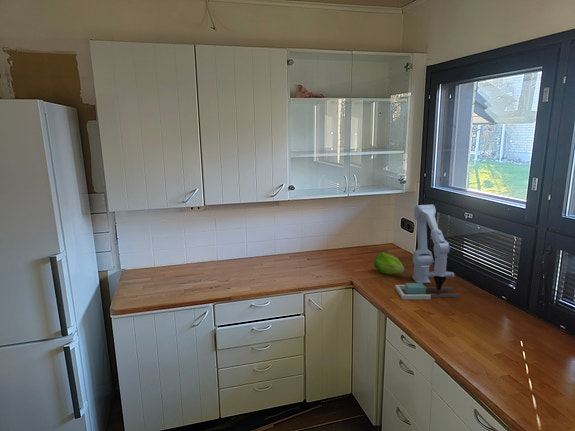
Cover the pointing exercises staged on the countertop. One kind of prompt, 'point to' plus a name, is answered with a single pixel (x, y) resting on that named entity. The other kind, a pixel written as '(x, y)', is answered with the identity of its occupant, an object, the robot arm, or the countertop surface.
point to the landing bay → (415, 296)
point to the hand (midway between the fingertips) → (438, 289)
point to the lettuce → (388, 264)
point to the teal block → (415, 288)
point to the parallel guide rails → (442, 293)
